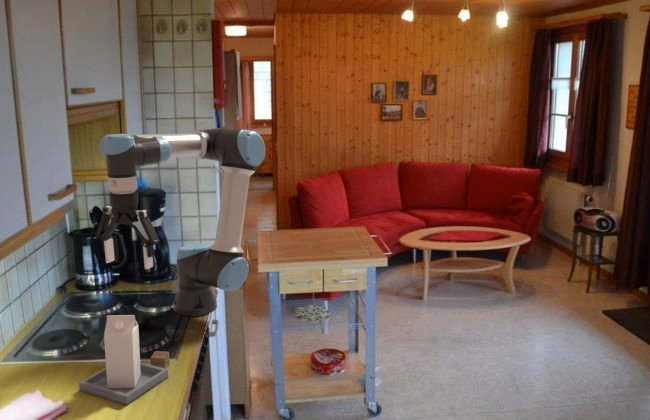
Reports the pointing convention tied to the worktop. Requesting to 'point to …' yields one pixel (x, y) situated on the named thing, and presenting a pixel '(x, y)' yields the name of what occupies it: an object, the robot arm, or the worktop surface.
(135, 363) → the milk carton
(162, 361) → the walnut block
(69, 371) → the worktop surface
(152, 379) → the tray
